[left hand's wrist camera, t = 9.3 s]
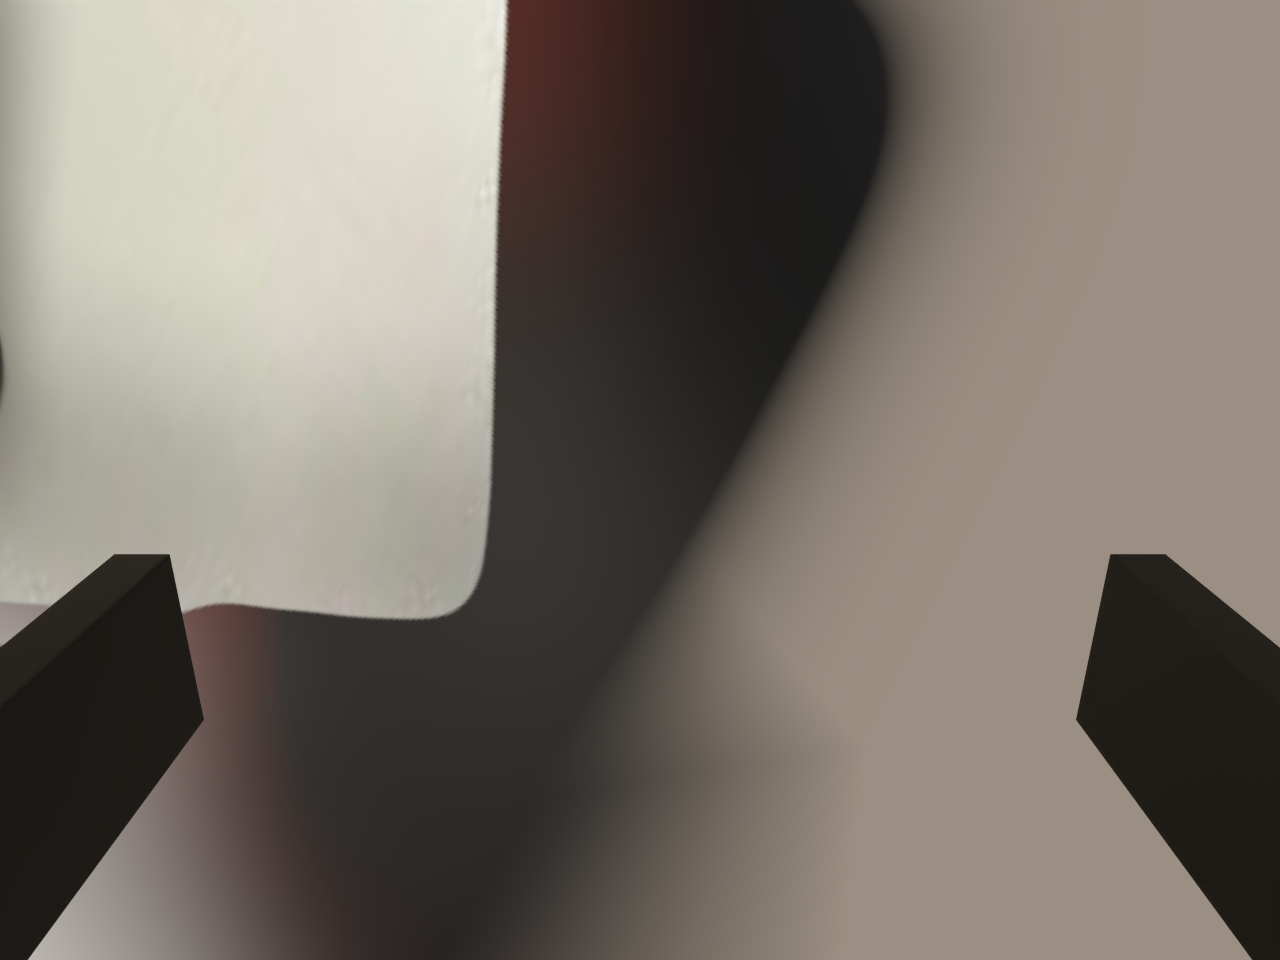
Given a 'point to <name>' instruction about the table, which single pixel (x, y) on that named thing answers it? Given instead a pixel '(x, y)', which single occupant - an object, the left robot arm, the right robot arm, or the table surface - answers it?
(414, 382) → the table surface
